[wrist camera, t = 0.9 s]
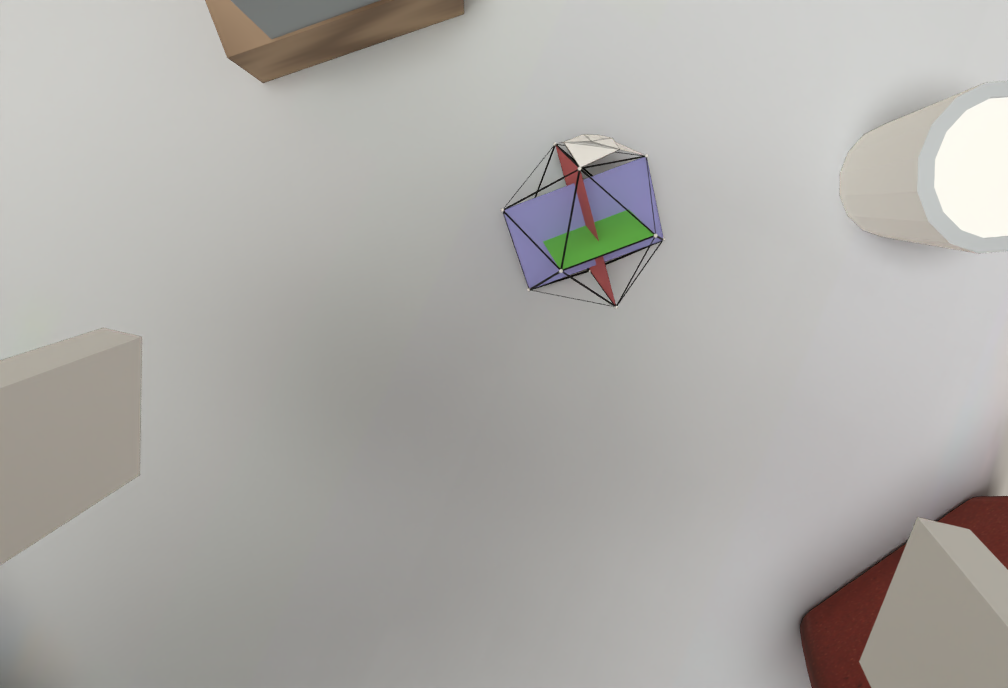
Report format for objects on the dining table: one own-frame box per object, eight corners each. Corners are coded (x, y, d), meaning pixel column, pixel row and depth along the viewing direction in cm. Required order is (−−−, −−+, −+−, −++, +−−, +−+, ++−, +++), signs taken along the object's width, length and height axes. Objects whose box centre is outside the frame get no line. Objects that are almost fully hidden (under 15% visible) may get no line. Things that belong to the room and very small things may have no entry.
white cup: (942, 256, 35) (1059, 263, 28) (814, 240, 34) (901, 243, 27) (973, 119, 33) (1103, 90, 27) (841, 100, 33) (939, 66, 26)
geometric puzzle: (684, 305, 32) (700, 204, 25) (550, 355, 32) (528, 268, 25) (626, 195, 35) (625, 77, 28) (504, 240, 35) (473, 135, 28)
